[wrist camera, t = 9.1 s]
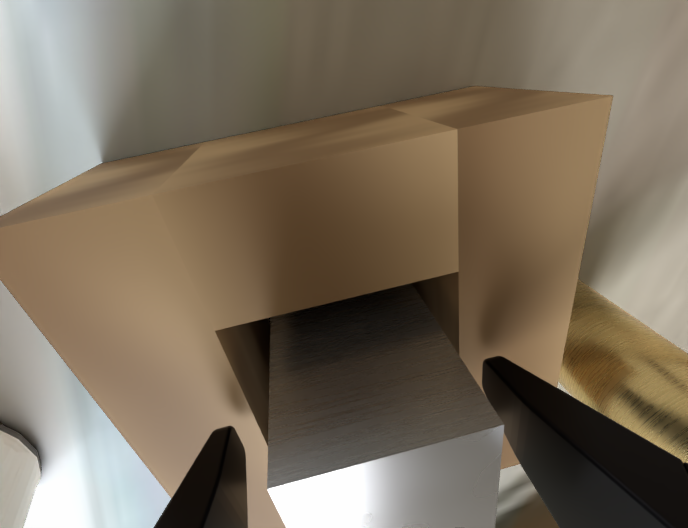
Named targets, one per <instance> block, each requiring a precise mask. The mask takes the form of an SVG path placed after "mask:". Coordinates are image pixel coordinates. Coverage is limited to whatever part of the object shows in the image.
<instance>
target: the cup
mask: <svg viewBox="0 0 688 528" xmlns="http://www.w3.org/2000/svg"><path fill="white" fill-rule="evenodd" d="M41 470H42V469H41V464H40V459H39V455H38V451H37V450H36V449H35V448H34V447H33V446H32V445H31V444H30V443H29V442H28V441H27V440H26V439H25V438H24V437H23V436H22V435H21V434H20V433H18V432H16V431H14V430H12V429H10V428H8V427H6V426H4V425H2V424H0V528H23V526H24V523H25V520H26V517H27V514H28V511H29V508H30V505H31V501H32V498H33V495H34V492H35V489H36V487H37V485H38V483H39V481H40V479H41Z"/></svg>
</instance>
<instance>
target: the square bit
mask: <svg viewBox="0 0 688 528" xmlns="http://www.w3.org/2000/svg"><path fill="white" fill-rule="evenodd" d="M503 434H504V423H503V422H502V420H501V419H500V417H499V416H498V414H497V413H496V411H495V410H494V408H493V407H492V405H491V404H490V402H489V400H488V399H487V397H486V396H485V394H484V393H483V391H482V390H481V388H480V387H479V385H478V384H477V382H476V381H475V379H474V378H473V376H472V374H471V373H470V371H469V370H468V368H467V367H466V365H465V364H464V362H463V361H462V359H461V358H460V356H459V355H458V353H457V352H456V350H455V348H454V347H453V345H452V344H451V342H450V341H449V339H448V338H447V336H446V335H445V333H444V332H443V330H442V329H441V327H440V325H439V324H438V322H437V321H436V319H435V318H434V316H433V315H432V313H431V312H430V310H429V309H428V307H427V306H426V304H425V303H424V301H423V299H422V298H421V296H420V295H419V293H418V292H417V290H416V289H415V287H414V286H413V284H412V283H409V284H405V285H401V286H397V287H393V288H389V289H385V290H381V291H376V292H372V293H368V294H364V295H360V296H356V297H352V298H348V299H344V300H339V301H335V302H331V303H327V304H323V305H319V306H315V307H311V308H307V309H302V310H298V311H294V312H290V313H286V314H282V315H278V316H274V317H271V325H270V374H269V424H268V473H267V490H268V492H269V494H270V496H271V498H272V500H273V502H274V504H275V506H276V508H277V510H278V512H279V514H280V516H281V518H282V520H283V522H284V524H285V526H286V528H495V521H496V510H497V499H498V488H499V478H500V467H501V456H502V445H503Z"/></svg>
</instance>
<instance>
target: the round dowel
mask: <svg viewBox="0 0 688 528" xmlns="http://www.w3.org/2000/svg"><path fill="white" fill-rule="evenodd" d="M558 381H559V382H560V384H561V385H562V386H563V387H564V388H565V389H566V390H567V391H568V392H569V393H570V394H571V395H572V396H573V397H574V398H576V399H577V400H579V401H581V402H583V403H584V404H586V405H588V406H589V407H591V408H593V409H595V410H596V411H598V412H600V413H602V414H603V415H605V416H607V417H609V418H610V419H612V420H614V421H615V422H617V423H619V424H621V425H622V426H624V427H626V428H628V429H629V430H631V431H633V432H635V433H636V434H638V435H640V436H641V437H643V438H645V439H647V440H648V441H650V442H652V443H654V444H655V445H657V446H659V447H660V448H662V449H664V450H666V451H667V452H669V453H671V454H673V455H674V456H676V457H678V458H680V459H681V460H682V462H683V463H684V462H686V463H688V354H687V353H686V352H684V351H683V350H681V349H680V348H679V347H677V346H676V345H674V344H673V343H671V342H670V341H668V340H667V339H665V338H664V337H662V336H661V335H659V334H658V333H656V332H655V331H654V330H652V329H651V328H649V327H648V326H646V325H645V324H643V323H642V322H640V321H639V320H637V319H636V318H634V317H633V316H631V315H630V314H629V313H627V312H626V311H624V310H623V309H621V308H620V307H618V306H617V305H615V304H614V303H612V302H611V301H609V300H608V299H606V298H605V297H604V296H602V295H601V294H599V293H598V292H596V291H595V290H593V289H592V288H590V287H589V286H587V285H586V284H584V283H583V282H581V281H580V280H579V279H578V281H577V286H576V291H575V297H574V302H573V307H572V312H571V317H570V322H569V328H568V333H567V338H566V343H565V348H564V354H563V359H562V364H561V369H560V374H559V379H558Z"/></svg>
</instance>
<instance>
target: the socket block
mask: <svg viewBox="0 0 688 528" xmlns="http://www.w3.org/2000/svg"><path fill="white" fill-rule="evenodd" d="M612 99H613V96H612V95H597V94H583V93H568V92H554V91H539V90H525V89H510V88H496V87H481V86H472V87H468V88H463V89H458V90H453V91H448V92H444V93H439V94H434V95H429V96H424V97H419V98H415V99H410V100H405V101H400V102H395V103H390V104H386V105H381V106H376V107H371V108H366V109H362V110H357V111H352V112H347V113H342V114H337V115H333V116H328V117H323V118H318V119H313V120H309V121H304V122H299V123H294V124H289V125H284V126H280V127H275V128H270V129H265V130H260V131H255V132H251V133H246V134H241V135H236V136H231V137H227V138H222V139H217V140H212V141H207V142H202V143H198V144H193V145H188V146H183V147H178V148H174V149H169V150H164V151H159V152H154V153H149V154H145V155H140V156H135V157H130V158H125V159H121V160H116V161H111V162H106V163H101V164H99V165H97V166H96V167H94V168H92V169H90V170H88V171H86V172H84V173H82V174H80V175H78V176H77V177H75V178H73V179H71V180H69V181H67V182H65V183H63V184H61V185H59V186H58V187H56V188H54V189H52V190H50V191H48V192H46V193H44V194H42V195H40V196H39V197H37V198H35V199H33V200H31V201H29V202H27V203H25V204H23V205H21V206H20V207H18V208H16V209H14V210H12V211H10V212H8V213H6V214H4V215H2V216H0V280H1V281H2V283H3V284H4V285H5V286H6V288H7V289H8V290H9V292H10V293H11V294H12V295H13V297H14V298H15V299H16V300H17V302H18V303H19V304H20V306H21V307H22V308H23V309H24V311H25V312H26V313H27V315H28V316H29V317H30V318H31V320H32V321H33V322H34V323H35V325H36V326H37V327H38V329H39V330H40V331H41V332H42V334H43V335H44V336H45V337H46V339H47V340H48V341H49V343H50V344H51V345H52V346H53V348H54V349H55V350H56V352H57V353H58V354H59V355H60V357H61V358H62V359H63V360H64V362H65V363H66V364H67V366H68V367H69V368H70V369H71V371H72V372H73V373H74V375H75V376H76V377H77V378H78V380H79V381H80V382H81V383H82V385H83V386H84V387H85V389H86V390H87V391H88V392H89V394H90V395H91V396H92V397H93V399H94V400H95V401H96V403H97V404H98V405H99V406H100V408H101V409H102V410H103V412H104V413H105V414H106V415H107V417H108V418H109V419H110V420H111V422H112V423H113V424H114V426H115V427H116V428H117V429H118V431H119V432H120V433H121V435H122V436H123V437H124V438H125V440H126V441H127V442H128V443H129V445H130V446H131V447H132V449H133V450H134V451H135V452H136V454H137V455H138V456H139V458H140V459H141V460H142V461H143V463H144V464H145V465H146V466H147V468H148V469H149V470H150V472H151V473H152V474H153V475H154V477H155V478H156V479H157V480H158V482H159V483H160V484H161V486H162V487H163V488H164V489H165V491H166V492H167V493H168V495H169V496H170V497H171V498H172V497H173V495H174V494H175V492H176V490H177V489H178V487H179V485H180V484H181V482H182V480H183V479H184V477H185V476H186V474H187V472H188V471H189V469H190V467H191V466H192V464H193V462H194V461H195V459H196V457H197V456H198V454H199V453H200V451H201V449H202V448H203V446H204V444H205V443H206V441H207V439H208V438H209V436H210V435H211V433H212V432H213V431H214V430H215V429H218V428H222V427H226V426H233V427H234V428H235V430H236V432H237V434H238V436H239V438H240V440H241V442H242V444H243V446H244V448H245V453H246V475H247V506H248V528H286V526H285V524H284V522H283V520H282V518H281V516H280V514H279V512H278V510H277V508H276V506H275V504H274V502H273V500H272V498H271V496H270V494H269V492H268V490H267V473H268V424H269V374H270V324H269V321H268V318H270V317H274V316H278V315H282V314H286V313H290V312H294V311H298V310H302V309H307V308H311V307H315V306H319V305H323V304H327V303H331V302H335V301H339V300H344V299H348V298H352V297H356V296H360V295H364V294H368V293H372V292H376V291H381V290H385V289H389V288H393V287H397V286H401V285H405V284H409V283H412V284H413V286H414V287H415V289H416V290H417V292H418V293H419V295H420V296H421V298H422V299H423V301H424V303H425V304H426V306H427V307H428V309H429V310H430V312H431V313H432V315H433V316H434V318H435V319H436V321H437V322H438V324H439V325H440V327H441V329H442V330H443V332H444V333H445V335H446V336H447V338H448V339H449V341H450V342H451V344H452V345H453V347H454V348H455V350H456V352H457V353H458V355H459V356H460V358H461V359H462V361H463V362H464V364H465V365H466V367H467V368H468V370H469V371H470V373H471V374H472V376H473V378H474V379H475V381H476V382H477V384H478V385H479V387H480V388H481V390H482V391H483V393H484V390H483V387H482V364H483V361H484V360H485V359H487V358H491V357H495V356H502V357H505V358H506V359H508V360H510V361H512V362H513V363H515V364H517V365H518V366H520V367H522V368H524V369H525V370H527V371H529V372H531V373H532V374H534V375H536V376H538V377H539V378H541V379H543V380H544V381H546V382H548V383H550V384H551V385H553V386H555V387H557V385H558V379H559V374H560V369H561V364H562V359H563V354H564V348H565V343H566V338H567V333H568V328H569V322H570V317H571V312H572V307H573V302H574V297H575V291H576V286H577V281H578V276H579V271H580V265H581V260H582V255H583V250H584V245H585V239H586V234H587V229H588V224H589V219H590V214H591V208H592V203H593V198H594V193H595V188H596V182H597V177H598V172H599V167H600V162H601V157H602V151H603V146H604V141H605V136H606V131H607V125H608V120H609V115H610V110H611V105H612ZM484 394H485V393H484ZM485 396H486V395H485ZM518 464H520V463H519V461H518V459H517V457H516V456H515V454H514V452H513V450H512V448H511V446H510V444H509V442H508V440H507V438H506V436H505V434H503V445H502V456H501V467H500V469H504V468H507V467H511V466H514V465H518Z"/></svg>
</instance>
